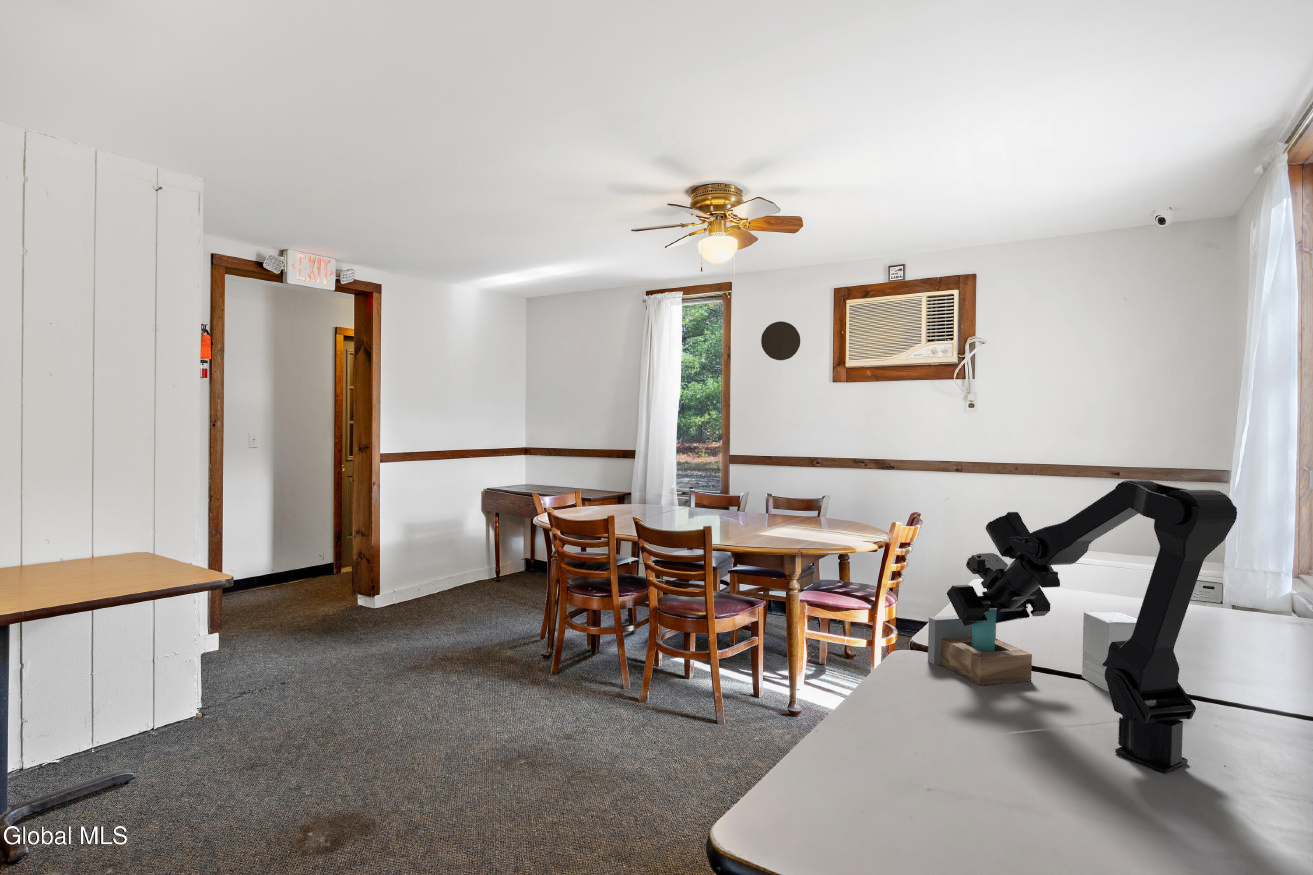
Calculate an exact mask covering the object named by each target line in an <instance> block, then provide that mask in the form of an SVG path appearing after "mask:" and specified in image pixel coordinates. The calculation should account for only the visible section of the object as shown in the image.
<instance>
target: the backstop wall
mask: <svg viewBox="0 0 1313 875" xmlns="http://www.w3.org/2000/svg"><path fill="white" fill-rule="evenodd" d="M927 634H928V635H927V636H928V637H927V638H928V639H927V641H928V643H927V662H928V663H930V664H932V665H933V666H937V665H941V639H947V638H962V637H972V625H968V626H964V624H963V622H962V620H961V619H959V617H958V615H947V616H946V615H945V616H944V615H943V616H929V617H928V633H927ZM995 638H996V639H997V627H996V628H995Z"/></svg>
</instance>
